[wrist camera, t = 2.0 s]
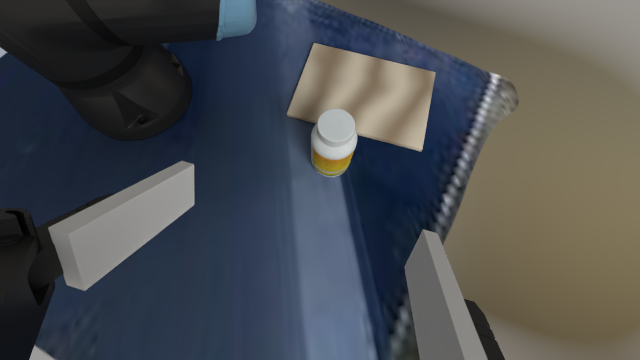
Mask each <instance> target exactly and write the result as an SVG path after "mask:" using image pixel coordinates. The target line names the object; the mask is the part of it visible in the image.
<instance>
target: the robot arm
mask: <svg viewBox="0 0 640 360" xmlns="http://www.w3.org/2000/svg"><path fill="white" fill-rule="evenodd" d="M256 20H257V13H256V0H0V47H1V48H2V49H4V50H5V51H6V52H8V53H9V54H11V55H12V56H14V57H15V58H17V59H18V60H20V61H21V62H23V63H24V64H26V65H27V66H29V67H30V68H32V69H33V70H34V71H36V72H37V73H39V74H41V75H42V76H43V77H45V78H46V79H48V80H49V81H51V82H52V83H53V84H55V85H56V86H57V87H58V88H59V89H60V91H61V92H62V93H63V95H64V96H65V97H66V99H67V100H68V101H69V102H70V104H71V105H72V106H73V108H74V109H75V110H76V111H77V113H78V114H79V115H80V117H81V118H82V119H83V120H84V121H85V122H86V123H87V124H89V125H90V126H92V127H93V128H95V129H96V130H98V131H99V132H101V133H103V134H104V135H106V136H108V137H111V138H114V139H119V140H140V139H145V138H149V137H152V136H154V135H157V134H159V133H161V132H163V131H165V130H166V129H168V128H169V127H171V126H172V125H173V124H174V123H176V122H177V121H178V120H179V119H180V117H181V116H182V115H183V114H184V112H185V111H186V109H187V107H188V105H189V103H190V100H191V96H192V82H191V79H190V76H189V74H188V73H187V71H186V70H185V68H184V67H183V65H182V63H181V62H180V61H179V60H178V59H177V57H176V56H174V55H173V54H172V53H171V52H169V51H168V50H167V49H166V48H164V47H163V46H162V45H160V44H161V43H174V42H187V41H200V40H213V39H216V41H219V40H221V39H222V38H226V37H233V36H241V35H246V34H248V33H250V32H251V31H252V29H253V28H254V27H255V24H256ZM193 205H194V164H191V163H187V162H184V161H180V162H178V163H176V164H174V165H172V166H170V167H168V168H166V169H164V170H162V171H160V172H158V173H156V174H154V175H152V176H150V177H148V178H146V179H144V180H142V181H140V182H138V183H136V184H134V185H132V186H130V187H128V188H126V189H124V190H122V191H120V192H118V193H116V194H110V195H106V196H103V197H99V198H96V199H94V200H92V201H90V202H88V203H86V204H85V205H82V206H80V207H78V208H76V209H75V210H71V211H69V212H67V213H65V214H63V215H61V216H59V217H57V218H55V219H53V220H51V221H49V222H47V223H45V224H42V225H40V226H38V227H36V228H35V226H34V223H33V220H32V217H31V214H30V212H28V211H27V210H25V209H21V208H5V209H0V360H29V358H30V355H31V353H32V350H33V347H34V344H35V342H36V339H37V336H38V333H39V330H40V328H41V325H42V322H43V319H44V317H45V314H46V311H47V308H48V305H49V303H50V300H51V297H52V294H53V291H54V289H55V282H54V280H55V279H56V278H58V277H59V276H61V275H62V274H63V275H64V278H65V281H66V284H67V285H69V286H72V287H74V288H77V289H80V290H83V291H85V290H87V289H88V288H89V287H90V286H92V285H93V284H94V283H95V282H97V281H98V280H99V279H101V278H102V277H103V276H104V275H106V274H107V273H108V272H109V271H111V270H112V269H113V268H115V267H116V266H117V265H118V264H120V263H121V262H122V261H123V260H125V259H126V258H127V257H129V256H130V255H131V254H132V253H134V252H135V251H136V250H137V249H139V248H140V247H141V246H143V245H144V244H145V243H146V242H148V241H149V240H150V239H151V238H153V237H154V236H155V235H157V234H158V233H159V232H160V231H162V230H163V229H164V228H165V227H167V226H168V225H169V224H171V223H172V222H173V221H174V220H176V219H177V218H178V217H179V216H181V215H182V214H183V213H185V212H186V211H187V210H188V209H190V208H191V207H192V206H193ZM405 273H406V279H407V285H408V291H409V297H410V302H411V308H412V314H413V320H414V326H415V332H416V338H417V344H418V350H419V356H420V360H505V359H504V356H503V354H502V352H501V350H500V348H499V345H498V343H497V341H496V340H495V337H494V335H493V332H492V330H491V329H490V326H489V324H488V322H487V319H486V317H485V315H484V313H483V312H482V311H481V310H480V309H479V307H478V306H477V305H476V303H475V302H473V301H469V300H466V299H463V296H462V294H461V291H460V289H459V286H458V284H457V281H456V279H455V276H454V274H453V271H452V269H451V266H450V264H449V261H448V259H447V256H446V254H445V251H444V249H443V246H442V244H441V241H440V239H439V236H438V234H437V233H434V232H430V231H427V230H423V231H422V233H421V235H420V237H419V239H418V241H417V243H416V245H415V247H414V249H413V251H412V253H411V255H410V257H409V259H408V261H407V263H406V265H405Z"/></svg>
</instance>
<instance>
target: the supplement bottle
mask: <svg viewBox="0 0 640 360" xmlns="http://www.w3.org/2000/svg"><path fill="white" fill-rule="evenodd" d="M356 144H357V133H356V130H355V121H354V119H353V117H352V116H351V115H350V114H349V113H348V112H346V111H345V110H342V109H329V110H327V111H325V112H324V113H322V114H321V116H320V117H319V119H318V122H317V124H316V125H315V126H314V128H313V130H312V133H311V161H312V165H313V167H314V169H315V170H316V171H317V172H318V173H320V174H321V175H323V176H327V177H336V176H339V175H341V174H342V173H343V172H345V170H346V169H347V168H348V166H349V163H350V160H351V158H352V155H353V152H354V150H355V147H356Z"/></svg>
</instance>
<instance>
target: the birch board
mask: <svg viewBox="0 0 640 360" xmlns="http://www.w3.org/2000/svg"><path fill="white" fill-rule="evenodd" d="M434 78H435V72H432V71H428V70H424V69H420V68H416V67H412V66H408V65H403V64H399V63H395V62H391V61H387V60H383V59H379V58H374V57H370V56H366V55H362V54H358V53H354V52H350V51H345V50H341V49H337V48H333V47H329V46H325V45H321V44H316V43H314V44H313V47H312V49H311V52H310V55H309V57H308V60H307V62H306V65H305V68H304V70H303V73H302V75H301V78H300V81H299V83H298V86H297V89H296V91H295V94H294V96H293V99H292V102H291V104H290V107H289V109H288V112H287V116H289V117H292V118H296V119H300V120H304V121H308V122H311V123H315V124H317V122H318V119H319V117H320V116H321V114H322V113H324V112H325V111H327V110H329V109H342V110H345V111H346V112H348V113H349V114H350V115H351V116H352V117H353V119H354V121H355V130H356V133H357V135H361V136H364V137H368V138H372V139H376V140H380V141H383V142H387V143H391V144H395V145H399V146H402V147H406V148H410V149H414V150H417V151H421V150H422V148H423V142H424V137H425V131H426V125H427V119H428V113H429V107H430V101H431V96H432V90H433V84H434Z"/></svg>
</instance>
